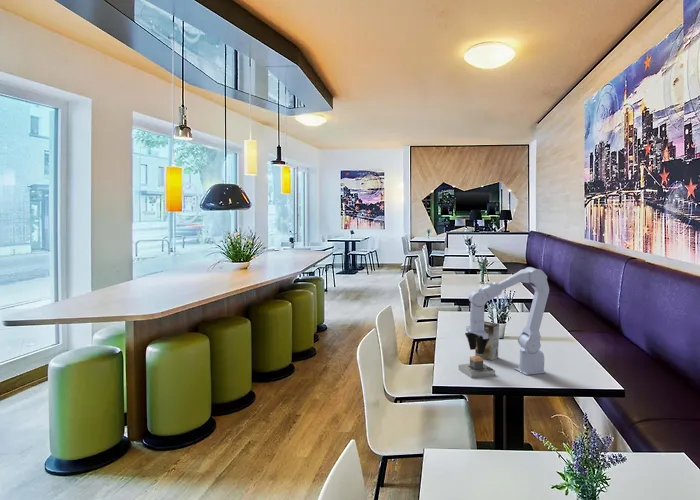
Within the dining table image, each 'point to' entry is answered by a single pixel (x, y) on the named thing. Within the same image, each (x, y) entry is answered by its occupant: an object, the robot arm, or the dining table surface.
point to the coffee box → (490, 341)
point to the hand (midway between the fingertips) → (476, 351)
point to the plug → (476, 363)
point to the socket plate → (476, 371)
